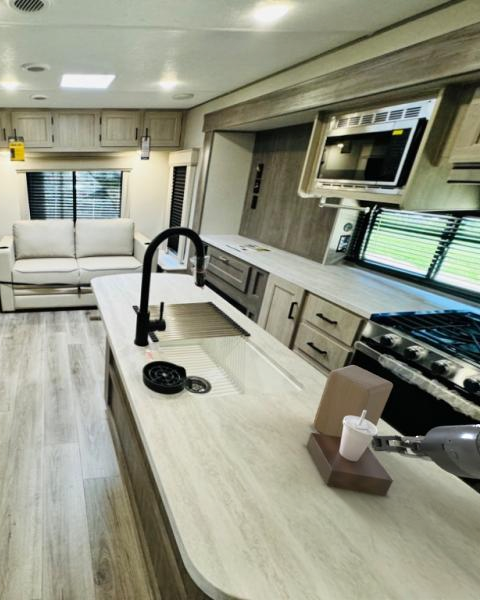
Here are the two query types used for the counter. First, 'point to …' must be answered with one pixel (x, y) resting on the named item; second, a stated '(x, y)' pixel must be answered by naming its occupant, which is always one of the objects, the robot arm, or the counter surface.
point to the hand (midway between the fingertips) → (400, 448)
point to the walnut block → (347, 466)
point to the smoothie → (356, 436)
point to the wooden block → (350, 398)
